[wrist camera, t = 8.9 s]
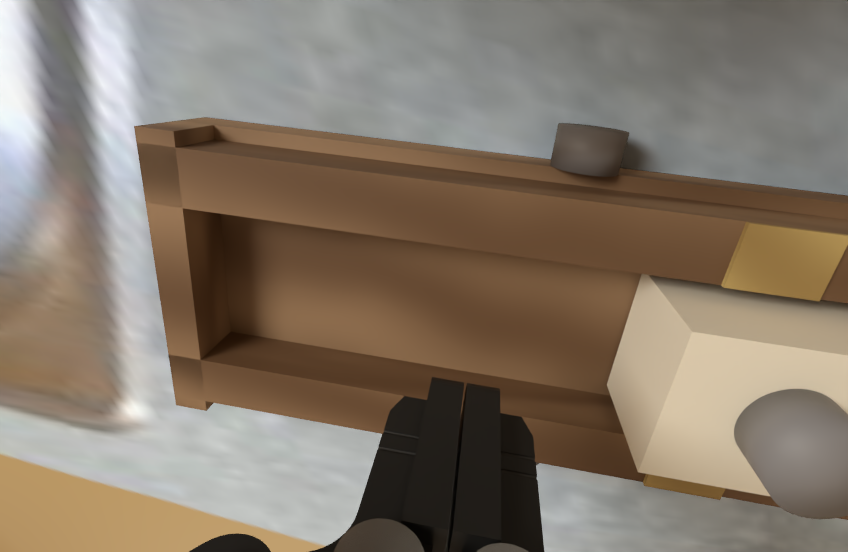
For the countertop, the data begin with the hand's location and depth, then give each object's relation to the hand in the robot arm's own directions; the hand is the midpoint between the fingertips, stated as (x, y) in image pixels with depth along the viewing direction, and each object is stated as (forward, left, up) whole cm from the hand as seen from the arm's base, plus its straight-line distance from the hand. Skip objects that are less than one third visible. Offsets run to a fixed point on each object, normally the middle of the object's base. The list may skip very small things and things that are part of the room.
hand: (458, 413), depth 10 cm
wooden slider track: (0, +3, -8) cm, 8 cm away
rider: (0, +8, -6) cm, 10 cm away
